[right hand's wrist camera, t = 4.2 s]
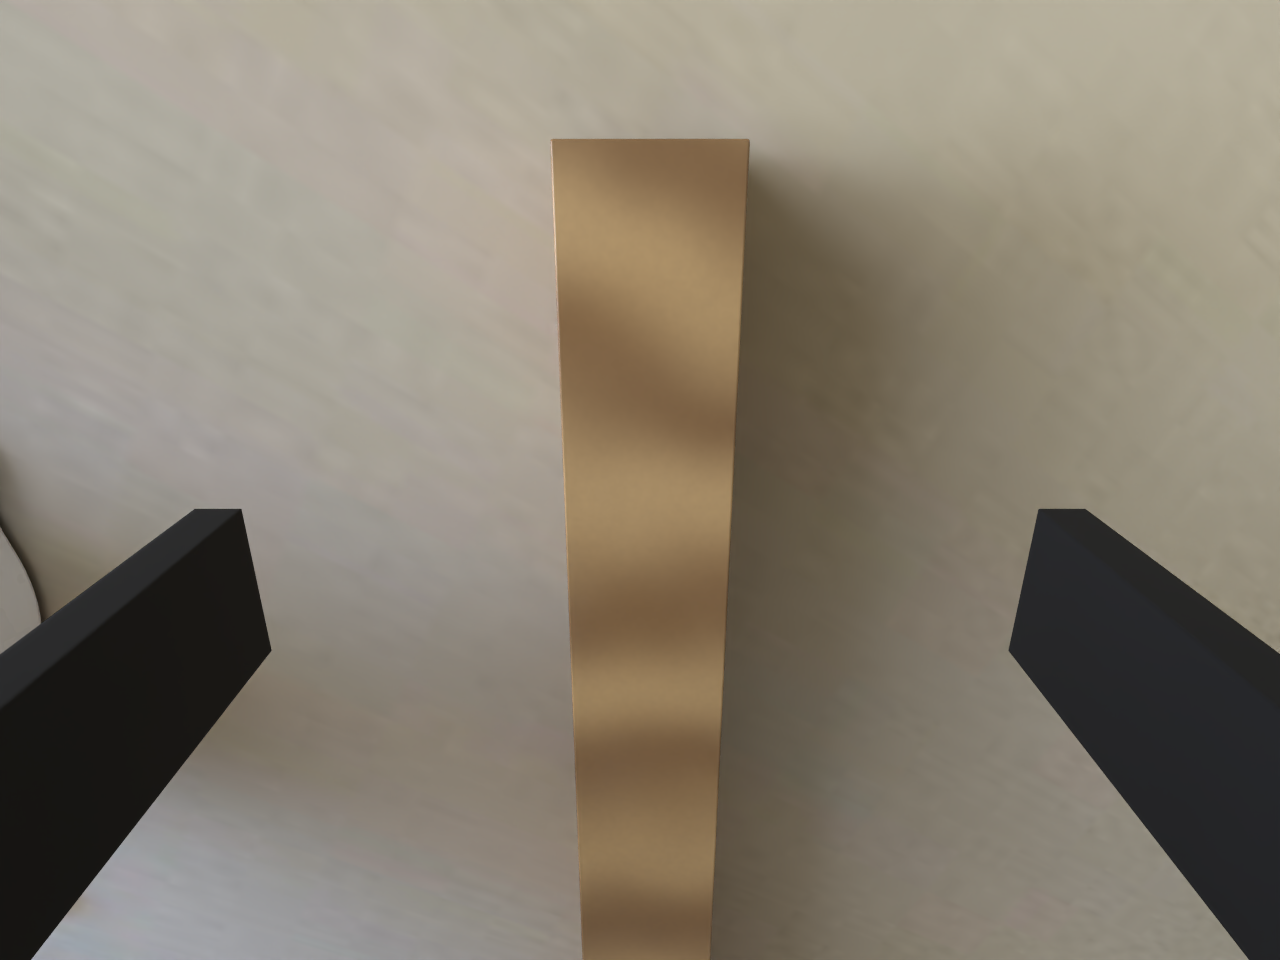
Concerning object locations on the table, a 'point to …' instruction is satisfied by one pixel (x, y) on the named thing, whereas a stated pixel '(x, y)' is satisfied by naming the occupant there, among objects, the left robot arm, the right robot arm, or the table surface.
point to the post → (648, 519)
